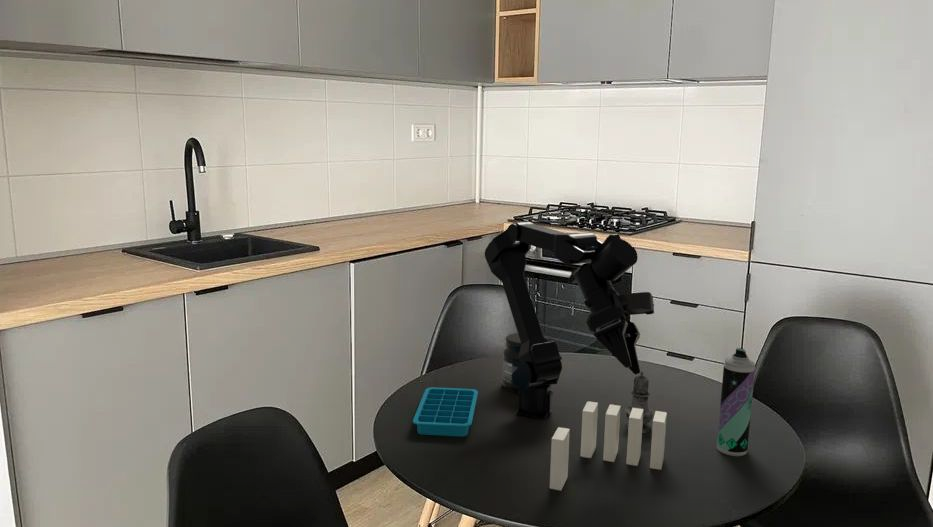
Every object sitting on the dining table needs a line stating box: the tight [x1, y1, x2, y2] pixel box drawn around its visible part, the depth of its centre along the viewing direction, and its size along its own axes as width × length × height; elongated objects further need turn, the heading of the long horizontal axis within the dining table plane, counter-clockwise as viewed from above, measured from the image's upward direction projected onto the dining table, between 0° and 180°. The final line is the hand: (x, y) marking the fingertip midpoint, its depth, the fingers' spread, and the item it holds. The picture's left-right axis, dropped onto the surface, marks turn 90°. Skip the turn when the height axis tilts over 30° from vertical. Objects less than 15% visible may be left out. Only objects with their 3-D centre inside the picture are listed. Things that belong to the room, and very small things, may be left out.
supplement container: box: [501, 332, 521, 394], centre depth 168 cm, size 10×10×12 cm
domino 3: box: [602, 403, 622, 463], centre depth 133 cm, size 2×5×9 cm, turn 160°
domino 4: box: [625, 408, 644, 467], centre depth 132 cm, size 2×5×9 cm, turn 160°
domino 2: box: [580, 400, 599, 459], centre depth 135 cm, size 2×5×9 cm, turn 160°
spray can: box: [716, 347, 756, 457], centre depth 136 cm, size 6×6×20 cm
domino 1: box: [549, 426, 571, 491], centre depth 123 cm, size 2×5×9 cm, turn 160°
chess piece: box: [624, 371, 655, 434], centre depth 146 cm, size 6×6×12 cm
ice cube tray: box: [412, 386, 479, 437], centre depth 151 cm, size 12×20×3 cm, turn 175°
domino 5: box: [649, 410, 668, 471], centre depth 131 cm, size 2×5×9 cm, turn 160°
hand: (633, 370), depth 127 cm, fingers open, 9 cm apart
